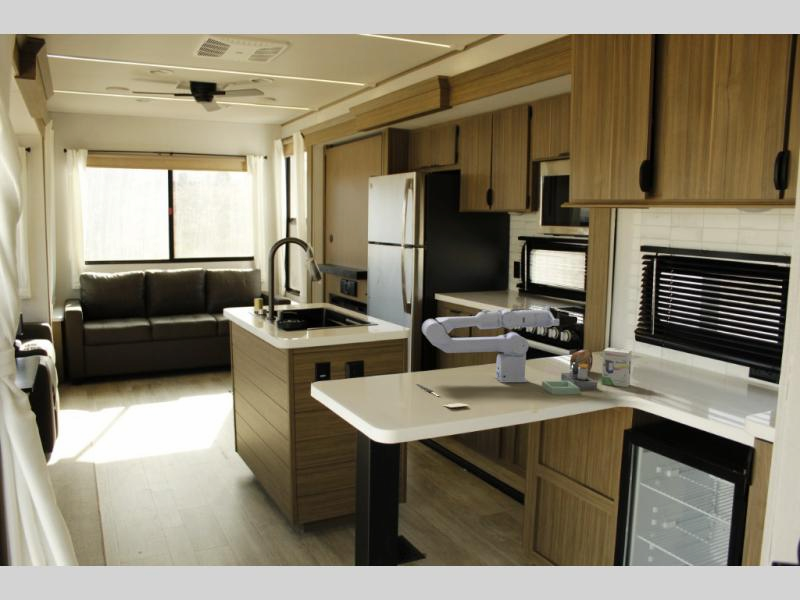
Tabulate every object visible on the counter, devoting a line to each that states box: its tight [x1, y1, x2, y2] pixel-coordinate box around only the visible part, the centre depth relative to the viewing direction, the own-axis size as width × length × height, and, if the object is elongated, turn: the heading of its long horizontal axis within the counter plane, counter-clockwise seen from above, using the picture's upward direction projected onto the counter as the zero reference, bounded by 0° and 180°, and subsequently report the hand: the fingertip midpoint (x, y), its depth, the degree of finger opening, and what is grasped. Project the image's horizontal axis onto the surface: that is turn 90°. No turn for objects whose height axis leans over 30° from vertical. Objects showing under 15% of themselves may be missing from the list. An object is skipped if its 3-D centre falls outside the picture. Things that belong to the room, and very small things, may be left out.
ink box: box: [601, 347, 633, 388], centre depth 228 cm, size 9×5×12 cm, turn 62°
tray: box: [541, 380, 581, 395], centre depth 218 cm, size 9×9×2 cm
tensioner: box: [560, 362, 598, 391], centre depth 226 cm, size 7×13×7 cm, turn 8°
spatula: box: [415, 383, 470, 408], centre depth 208 cm, size 6×29×2 cm, turn 24°
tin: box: [569, 349, 594, 374], centre depth 242 cm, size 15×3×8 cm, turn 143°
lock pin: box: [578, 364, 589, 381], centre depth 223 cm, size 3×3×8 cm
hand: (572, 317), depth 230 cm, fingers open, 7 cm apart
